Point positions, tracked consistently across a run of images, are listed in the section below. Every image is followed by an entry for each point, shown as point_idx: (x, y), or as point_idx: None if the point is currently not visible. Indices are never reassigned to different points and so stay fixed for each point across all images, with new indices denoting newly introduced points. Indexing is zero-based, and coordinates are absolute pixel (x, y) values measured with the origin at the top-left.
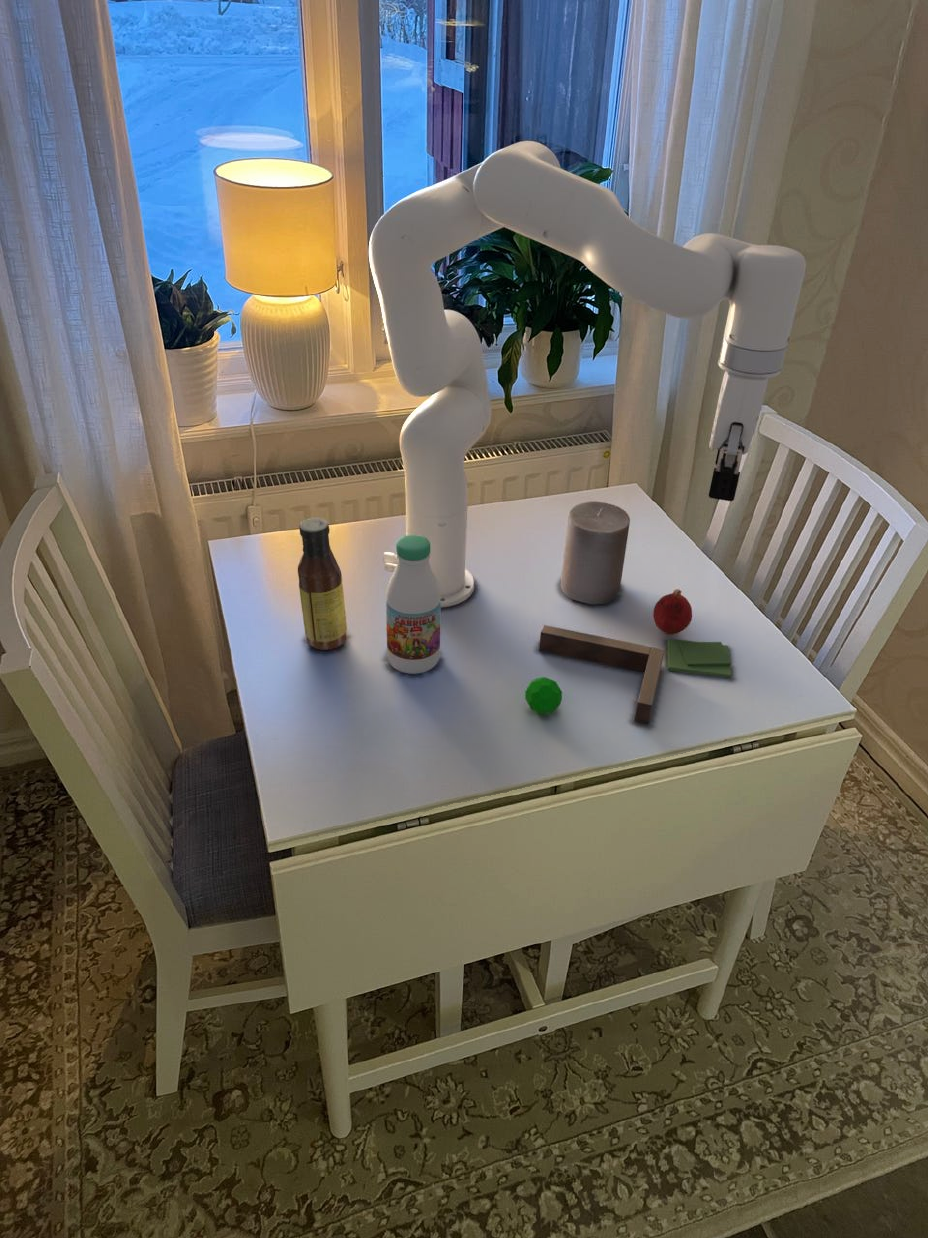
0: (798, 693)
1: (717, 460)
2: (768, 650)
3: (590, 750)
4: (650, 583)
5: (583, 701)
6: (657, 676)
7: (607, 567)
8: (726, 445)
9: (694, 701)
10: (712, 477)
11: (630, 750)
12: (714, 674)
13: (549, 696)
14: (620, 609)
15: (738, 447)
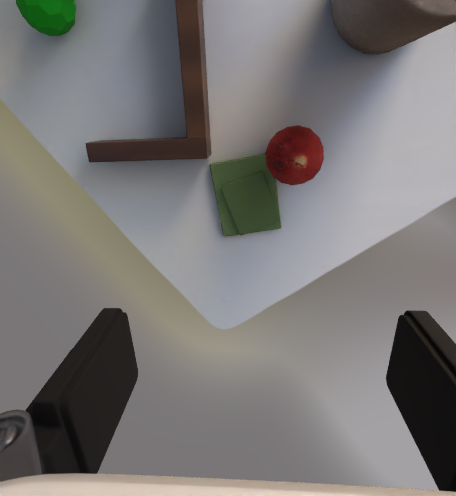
0: (226, 299)
1: (408, 327)
2: (292, 269)
3: (28, 100)
4: (418, 101)
5: (103, 67)
6: (146, 158)
7: (359, 11)
8: (449, 413)
9: (167, 201)
10: (59, 366)
11: (54, 146)
12: (220, 218)
13: (22, 14)
14: (332, 68)
15: (432, 457)
